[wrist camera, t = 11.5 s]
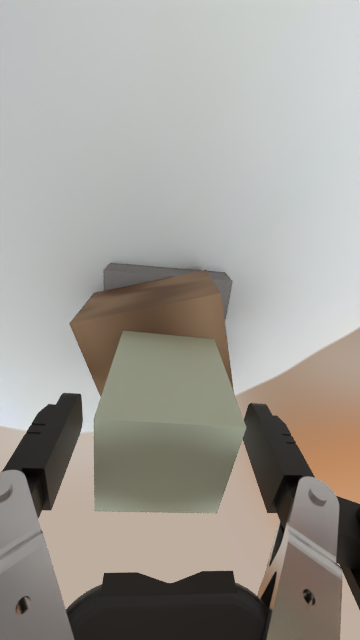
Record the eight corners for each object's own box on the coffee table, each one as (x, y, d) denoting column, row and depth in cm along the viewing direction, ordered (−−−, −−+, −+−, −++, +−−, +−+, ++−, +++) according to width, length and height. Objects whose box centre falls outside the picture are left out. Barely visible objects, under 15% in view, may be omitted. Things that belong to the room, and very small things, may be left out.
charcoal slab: (113, 358, 23) (106, 377, 21) (112, 261, 20) (103, 270, 17) (208, 362, 24) (213, 382, 21) (223, 271, 20) (232, 280, 18)
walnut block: (125, 381, 21) (115, 431, 16) (94, 292, 17) (69, 323, 13) (220, 363, 21) (235, 408, 16) (206, 270, 17) (221, 293, 13)
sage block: (119, 402, 15) (94, 511, 10) (122, 330, 13) (93, 419, 8) (198, 407, 16) (216, 513, 10) (214, 339, 14) (246, 427, 8)
